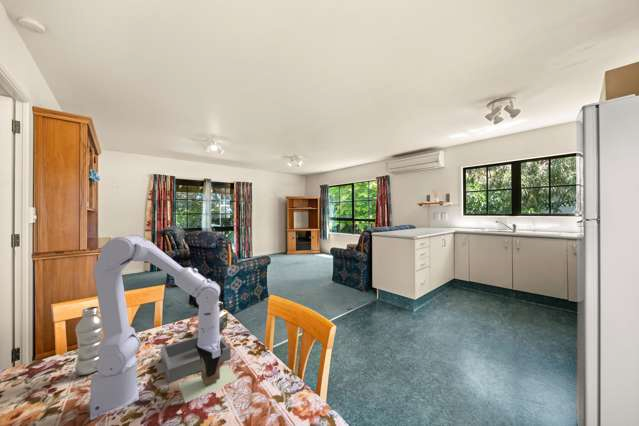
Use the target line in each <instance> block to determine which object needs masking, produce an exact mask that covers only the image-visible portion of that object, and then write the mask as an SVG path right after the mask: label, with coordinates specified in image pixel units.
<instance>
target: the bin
mask: <svg viewBox="0 0 639 426" xmlns="http://www.w3.org/2000/svg"><path fill="white" fill-rule="evenodd" d="M197 342H198V335H197V336H193V337H191V338H186V339H184V340H181V341H178V342H174V343H170V344H167V345H164V346H161V347H160V361H161V364H162V366H163V369H164V372H165V376H166V379H167V382H168V384H171V383H173V382H177V381H178V380H181V379H184V378H186V377H189V376H191V375H194V374H197V373H199V372H201V360H200V356H199V353H198V350H197V349H196V347H195V345H197ZM220 348H222V349H223V353H222V355H221V357H220V364H222V363H224V362H227V361H230V360H231V357H232V356H231V346H230V344H228V342H226V340H225V339H224V338H223V339H222V340H220Z"/></svg>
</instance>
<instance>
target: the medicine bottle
mask: <svg viewBox="0 0 639 426" xmlns="http://www.w3.org/2000/svg"><path fill="white" fill-rule="evenodd" d="M226 328H228V312H227V311H224V303H223V302H222V301H219V334H220V333H221V332H222V331H223V330H225V329H226Z"/></svg>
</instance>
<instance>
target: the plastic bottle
mask: <svg viewBox="0 0 639 426" xmlns="http://www.w3.org/2000/svg"><path fill="white" fill-rule="evenodd" d="M99 313H100V310H99V306H90V307H85V308H84V309H82V312H81V317H82V318H81V319H80V320H79V321H78V322H77V324H76V325H75V326H76V327H75V330H74V331H75V335H76V341H77V356H76V362H75V367H74V370H75V374H77V375H79V376H87V375H89V374H93V373H96V372H98V371H97V369H96V362H97V359H98V357H99V352H98V349H99V346H100V344H101V342H102V339H103V328H102V321H101V315H99Z"/></svg>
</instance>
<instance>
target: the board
mask: <svg viewBox="0 0 639 426" xmlns="http://www.w3.org/2000/svg"><path fill="white" fill-rule="evenodd" d="M235 381H238V377H237V375H236V374H235V373H234V372H233V371H232V369H231V367H230V366H229V365H228V364H226V365H223V366H220V379H218V380H216V381H214V382H211V383H209V384H207V385H205V384H204V382H203V380H202V378H201V375H199V376H196V377H193V378H192V379H189V380H187V381H184V382H181V383H179V384H178V387H179V390H180V393H181V396H182V398H183V400H184V403H185V404H187V403H189V402H191V401H193V400H195V399H198V398H200V397H202V396H205V395H206V394H208V393H211V392H213V391H215V390H217V389H220V388H222V387H224V386H226V385H228V384H230V383H232V382H235Z"/></svg>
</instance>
